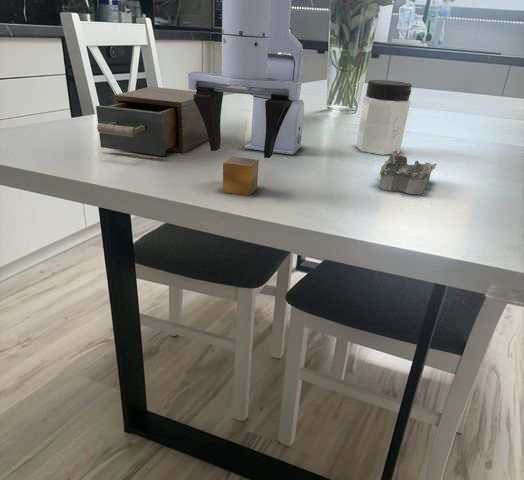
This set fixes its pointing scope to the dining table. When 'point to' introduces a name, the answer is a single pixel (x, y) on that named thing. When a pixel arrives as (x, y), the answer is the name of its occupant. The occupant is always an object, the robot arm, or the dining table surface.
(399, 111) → the jar
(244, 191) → the block
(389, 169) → the egg carton
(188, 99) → the cabinet
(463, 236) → the dining table surface
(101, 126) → the drawer
